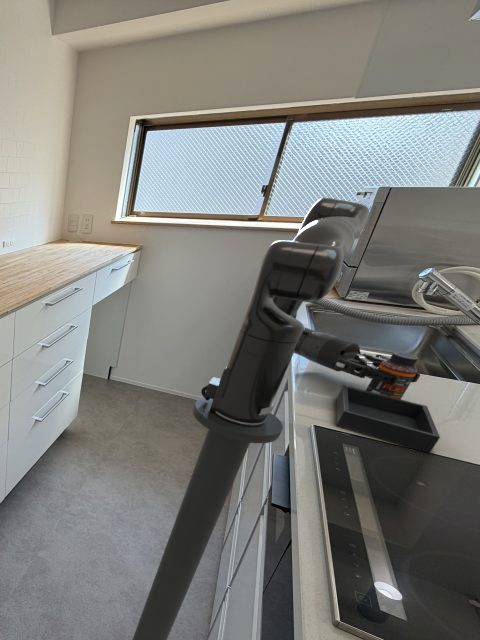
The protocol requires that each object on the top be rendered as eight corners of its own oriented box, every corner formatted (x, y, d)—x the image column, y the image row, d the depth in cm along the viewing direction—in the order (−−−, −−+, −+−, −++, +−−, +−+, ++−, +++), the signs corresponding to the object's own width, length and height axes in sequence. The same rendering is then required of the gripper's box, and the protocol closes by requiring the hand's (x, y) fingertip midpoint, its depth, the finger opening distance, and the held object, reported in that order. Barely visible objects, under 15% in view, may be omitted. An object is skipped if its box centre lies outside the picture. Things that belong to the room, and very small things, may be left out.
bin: (336, 425, 83) (343, 410, 81) (336, 398, 94) (343, 385, 92) (429, 453, 76) (440, 437, 74) (418, 420, 86) (427, 405, 85)
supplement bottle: (373, 405, 92) (399, 358, 87) (356, 392, 97) (380, 348, 92) (404, 408, 91) (432, 361, 86) (385, 395, 96) (410, 351, 91)
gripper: (313, 338, 100) (393, 366, 85) (355, 335, 104) (439, 361, 89) (300, 366, 103) (375, 398, 89) (342, 362, 107) (420, 392, 93)
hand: (406, 379), depth 89 cm, fingers closed on supplement bottle, 6 cm apart
